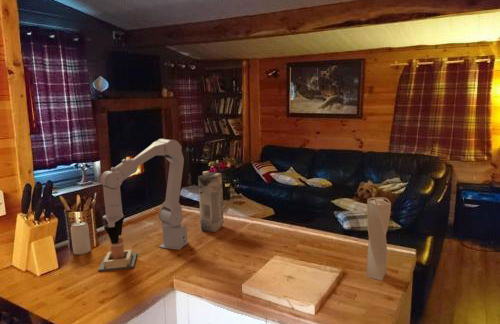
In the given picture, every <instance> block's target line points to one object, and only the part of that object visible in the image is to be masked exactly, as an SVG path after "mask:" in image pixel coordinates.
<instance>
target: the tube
mask: <svg viewBox="0 0 500 324" xmlns="http://www.w3.org/2000/svg"><path fill="white" fill-rule="evenodd" d="M109 242H110V250H111V251H110V252H111V254H112V260H114V259H124V258H125V257H124V250H125V249H124V247H125V246H124V239H123V238H121V237H119V240H118V243H116V244H112V243H111V240H110V241H109Z"/></svg>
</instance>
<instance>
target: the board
mask: <svg viewBox="0 0 500 324" xmlns="http://www.w3.org/2000/svg"><path fill="white" fill-rule="evenodd" d="M137 255H138V252H133V250H132V249H124V257H125V258H124V259H114V260H112V254H111V251H107V253H106V255H104V256H103V259H102V261H101V263H100V265H99V267H98V272H107V271H108V272H109V271H110V272H111V271H118V270H127V269H134V268H135V264H136V260H137V257H138V256H137Z"/></svg>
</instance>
